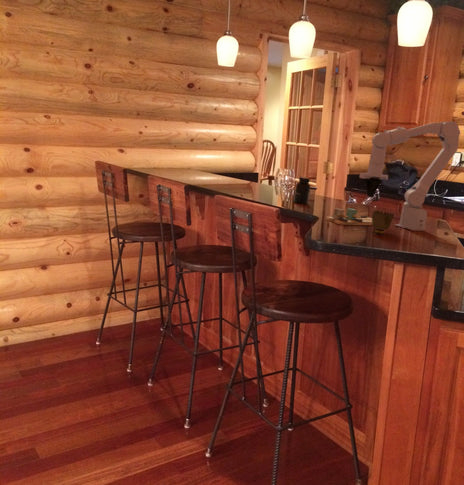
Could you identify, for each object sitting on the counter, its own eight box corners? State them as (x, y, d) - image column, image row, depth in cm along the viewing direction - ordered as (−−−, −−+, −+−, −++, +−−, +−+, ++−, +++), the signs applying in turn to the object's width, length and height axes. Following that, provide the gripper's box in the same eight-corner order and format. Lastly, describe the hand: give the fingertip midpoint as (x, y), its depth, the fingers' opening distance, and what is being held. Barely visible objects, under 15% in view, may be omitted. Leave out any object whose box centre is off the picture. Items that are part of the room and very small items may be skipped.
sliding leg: (361, 221, 202) (362, 211, 202) (356, 221, 201) (358, 211, 200) (349, 218, 208) (351, 208, 207) (345, 218, 206) (347, 208, 205)
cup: (374, 230, 194) (378, 209, 192) (392, 235, 189) (397, 213, 187) (365, 232, 188) (369, 210, 186) (384, 237, 183) (388, 214, 182)
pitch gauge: (385, 225, 210) (387, 212, 209) (342, 225, 197) (344, 211, 196) (367, 219, 218) (369, 207, 217) (324, 219, 205) (326, 206, 204)
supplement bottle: (292, 202, 243) (296, 177, 240) (294, 200, 249) (298, 176, 246) (306, 204, 241) (310, 179, 238) (308, 203, 247) (312, 178, 245)
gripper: (381, 163, 214) (375, 195, 217) (356, 160, 206) (350, 194, 209) (394, 165, 209) (388, 198, 212) (369, 163, 201) (363, 197, 204)
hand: (370, 196), depth 210 cm, fingers closed
